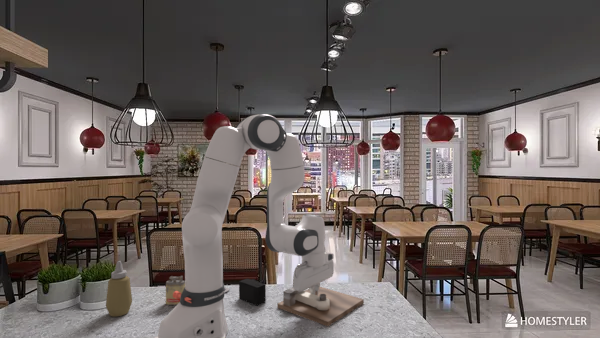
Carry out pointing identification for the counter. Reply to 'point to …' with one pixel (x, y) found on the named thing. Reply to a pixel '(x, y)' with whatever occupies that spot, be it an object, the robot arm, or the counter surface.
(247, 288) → the digital camera
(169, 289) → the small jar
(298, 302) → the pivot base
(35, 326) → the counter surface
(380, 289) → the counter surface
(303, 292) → the link
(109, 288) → the squeeze bottle
